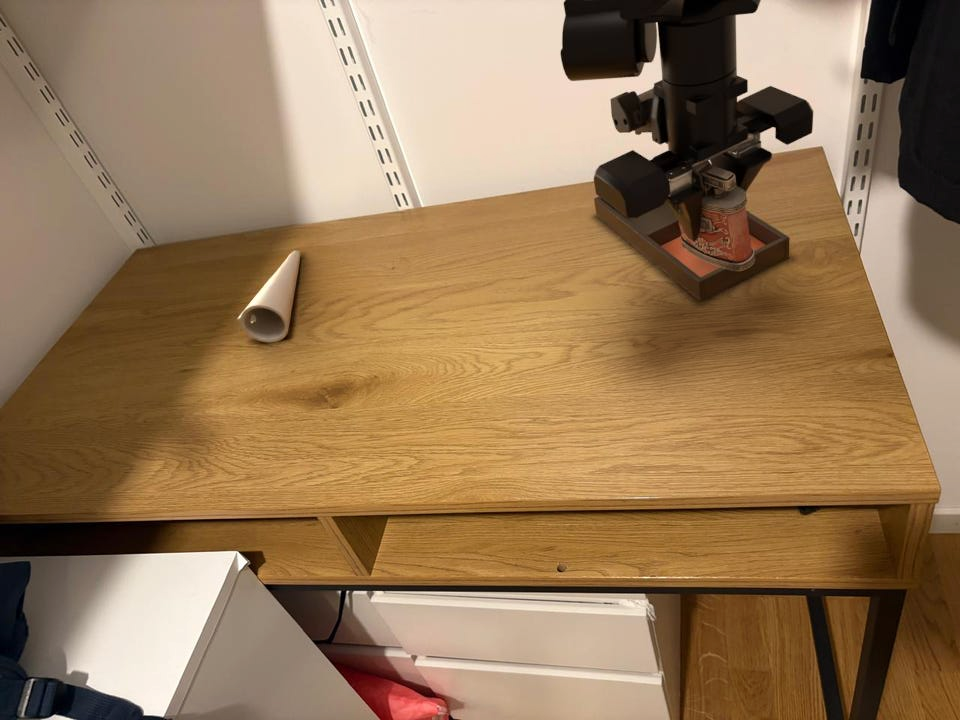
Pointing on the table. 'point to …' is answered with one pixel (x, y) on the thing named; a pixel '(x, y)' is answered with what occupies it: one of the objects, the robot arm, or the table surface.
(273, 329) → the long tapered cone
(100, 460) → the table surface
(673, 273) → the divided tray
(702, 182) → the lighter
